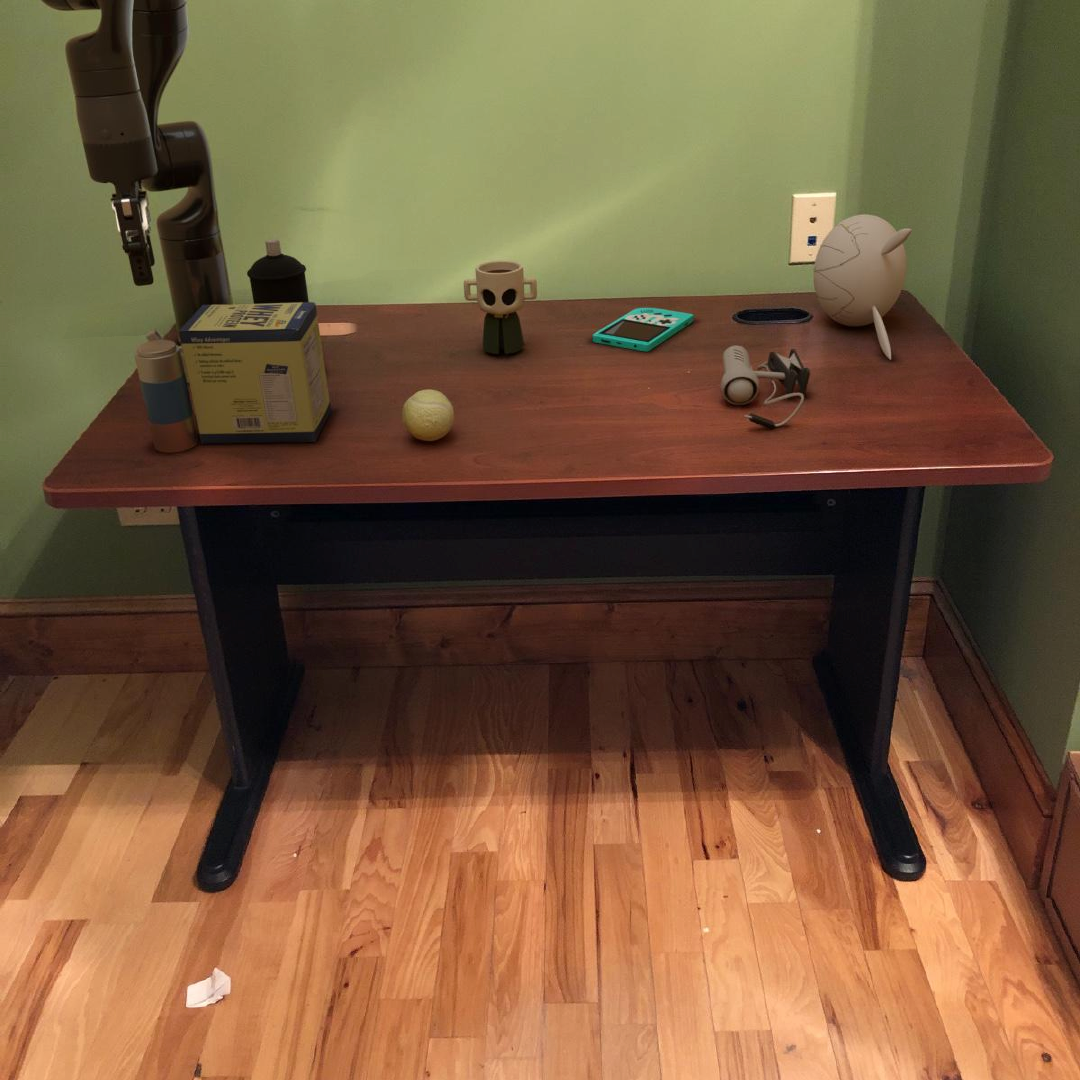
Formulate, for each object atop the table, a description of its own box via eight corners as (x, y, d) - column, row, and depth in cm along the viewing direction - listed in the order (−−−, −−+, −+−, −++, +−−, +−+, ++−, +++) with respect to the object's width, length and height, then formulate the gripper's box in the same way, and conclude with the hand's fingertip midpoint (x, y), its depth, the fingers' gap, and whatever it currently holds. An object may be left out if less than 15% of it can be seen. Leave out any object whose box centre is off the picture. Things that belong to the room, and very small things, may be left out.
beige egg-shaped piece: (804, 207, 181) (858, 225, 158) (889, 209, 182) (954, 227, 159) (791, 326, 188) (840, 360, 165) (872, 328, 189) (932, 361, 166)
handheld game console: (695, 321, 184) (695, 313, 183) (648, 352, 172) (648, 344, 171) (640, 312, 189) (640, 304, 188) (591, 342, 177) (591, 333, 176)
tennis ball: (460, 445, 146) (457, 396, 142) (409, 453, 144) (404, 404, 141) (450, 426, 151) (446, 378, 148) (400, 433, 149) (395, 385, 146)
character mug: (465, 359, 172) (459, 274, 166) (470, 343, 178) (464, 260, 172) (537, 358, 172) (534, 273, 165) (540, 341, 178) (537, 259, 171)
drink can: (155, 438, 151) (134, 341, 144) (198, 432, 152) (179, 336, 145) (153, 455, 146) (131, 356, 139) (198, 449, 147) (178, 351, 140)
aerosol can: (307, 387, 165) (288, 249, 155) (254, 384, 166) (232, 247, 156) (328, 366, 172) (310, 233, 162) (277, 364, 173) (256, 232, 163)
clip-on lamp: (813, 449, 148) (796, 370, 161) (824, 410, 143) (806, 332, 157) (722, 443, 148) (713, 365, 161) (731, 403, 143) (720, 326, 157)
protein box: (220, 413, 157) (200, 303, 150) (332, 410, 157) (317, 300, 149) (198, 445, 148) (175, 330, 141) (317, 443, 148) (300, 327, 140)
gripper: (149, 142, 125) (177, 287, 133) (151, 122, 137) (177, 257, 145) (77, 148, 123) (110, 295, 131) (85, 127, 135) (115, 263, 143)
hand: (145, 275), depth 138 cm, fingers open, 8 cm apart
